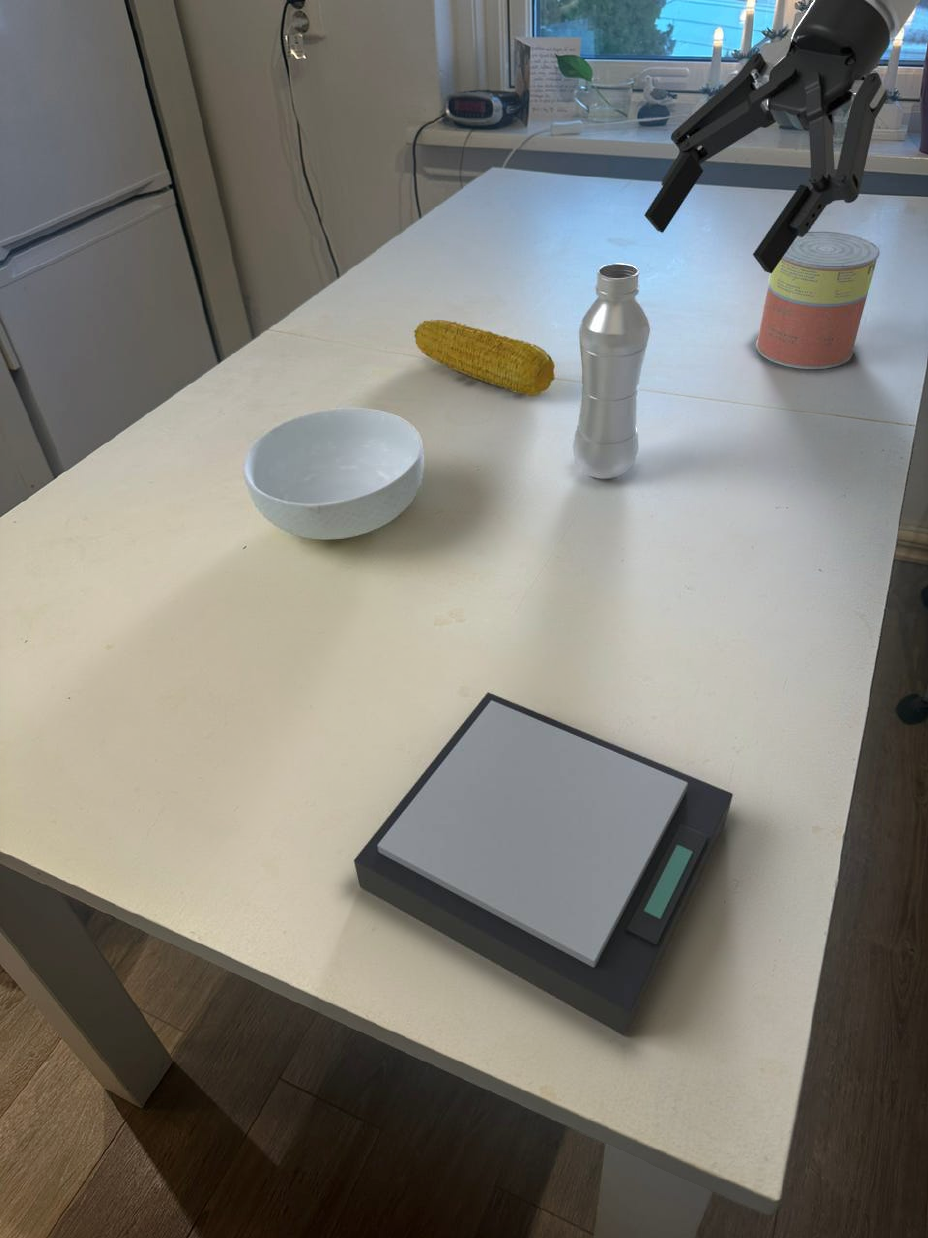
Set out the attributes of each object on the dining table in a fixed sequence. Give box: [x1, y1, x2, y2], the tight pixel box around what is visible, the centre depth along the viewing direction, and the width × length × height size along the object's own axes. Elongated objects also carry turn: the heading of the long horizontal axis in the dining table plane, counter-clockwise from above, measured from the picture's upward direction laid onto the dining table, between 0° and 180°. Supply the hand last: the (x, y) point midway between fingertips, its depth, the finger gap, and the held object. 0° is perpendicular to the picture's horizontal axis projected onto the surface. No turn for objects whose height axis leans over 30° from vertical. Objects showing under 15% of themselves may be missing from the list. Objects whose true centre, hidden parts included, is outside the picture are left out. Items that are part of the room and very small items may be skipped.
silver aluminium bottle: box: [572, 263, 651, 480], centre depth 82 cm, size 6×7×20 cm
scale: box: [353, 691, 734, 1037], centre depth 55 cm, size 18×16×4 cm
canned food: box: [755, 231, 880, 370], centre depth 103 cm, size 11×11×12 cm
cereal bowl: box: [242, 407, 425, 541], centre depth 83 cm, size 17×17×7 cm
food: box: [413, 319, 556, 396], centre depth 104 cm, size 21×6×6 cm, turn 48°
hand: (704, 243), depth 79 cm, fingers open, 13 cm apart
